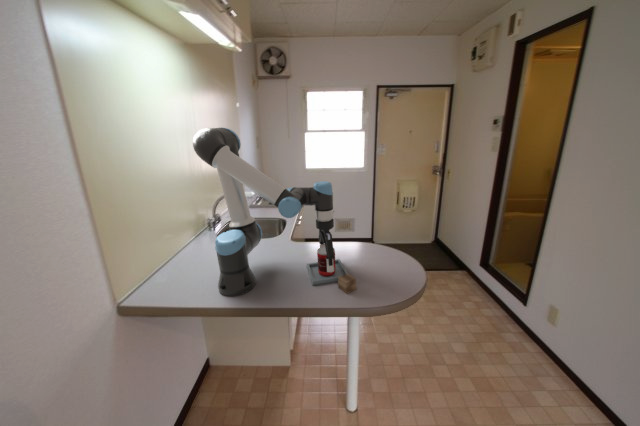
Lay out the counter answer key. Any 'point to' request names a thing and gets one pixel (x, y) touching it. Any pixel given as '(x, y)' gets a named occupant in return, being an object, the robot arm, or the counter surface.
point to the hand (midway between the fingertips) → (326, 264)
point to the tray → (319, 279)
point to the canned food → (324, 262)
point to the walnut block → (347, 283)
